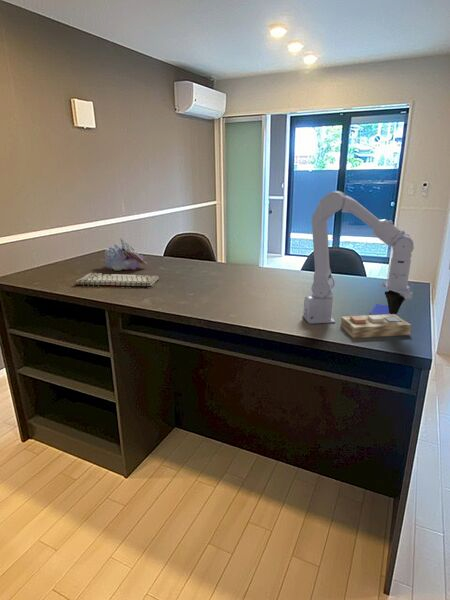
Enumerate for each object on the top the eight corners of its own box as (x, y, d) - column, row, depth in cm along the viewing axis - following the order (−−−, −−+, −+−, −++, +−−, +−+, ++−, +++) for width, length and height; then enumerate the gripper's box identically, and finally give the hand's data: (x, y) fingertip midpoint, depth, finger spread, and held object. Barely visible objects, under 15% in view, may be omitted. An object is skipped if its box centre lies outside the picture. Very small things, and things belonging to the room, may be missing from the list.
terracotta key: (354, 325, 124) (355, 320, 124) (350, 321, 128) (350, 316, 127) (365, 325, 125) (366, 319, 124) (360, 321, 128) (360, 315, 127)
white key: (372, 325, 125) (373, 319, 124) (367, 321, 128) (367, 315, 128) (382, 324, 125) (383, 318, 125) (377, 320, 129) (378, 314, 128)
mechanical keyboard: (161, 279, 193) (160, 272, 192) (152, 290, 175) (151, 283, 174) (87, 278, 196) (87, 272, 195) (71, 289, 178) (70, 282, 177)
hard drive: (393, 317, 137) (398, 307, 147) (369, 313, 141) (375, 303, 151) (392, 321, 137) (397, 311, 147) (368, 317, 141) (375, 307, 151)
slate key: (389, 327, 126) (390, 321, 125) (383, 323, 129) (384, 317, 129) (399, 326, 126) (400, 321, 126) (393, 322, 130) (394, 317, 129)
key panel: (353, 337, 122) (354, 327, 121) (340, 326, 131) (341, 316, 130) (409, 334, 124) (411, 324, 123) (392, 323, 134) (394, 314, 132)
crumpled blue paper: (101, 257, 219) (99, 232, 206) (138, 252, 228) (139, 228, 215) (109, 282, 207) (108, 258, 195) (148, 276, 216) (150, 252, 203)
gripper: (424, 278, 116) (417, 320, 120) (398, 267, 130) (392, 305, 134) (402, 279, 115) (396, 321, 119) (378, 268, 129) (373, 306, 133)
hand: (393, 313), depth 127 cm, fingers closed
